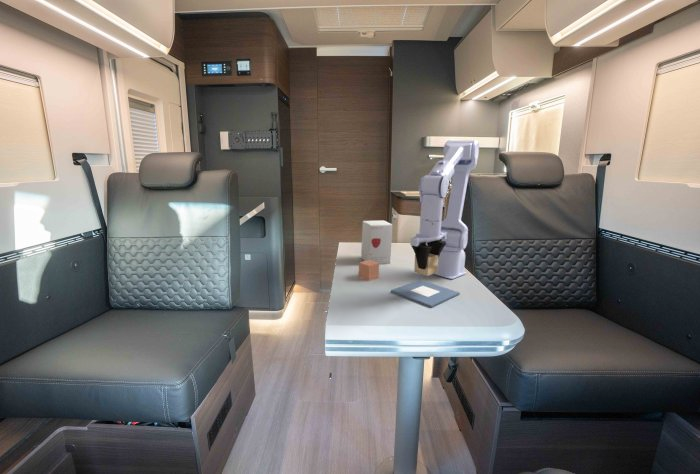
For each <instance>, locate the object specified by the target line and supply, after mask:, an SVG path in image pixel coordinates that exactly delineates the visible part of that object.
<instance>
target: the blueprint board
mask: <svg viewBox="0 0 700 474" xmlns="http://www.w3.org/2000/svg"><path fill="white" fill-rule="evenodd" d="M390 293H392V294H395V295H397V296H399V297H402V298H405V299H408V300H410V301H413V302H416V303H417V304H420V305H422V306H426V307H428V308H431V309H432V308H435V307H437V306H439V305H441V304H443V303H445V302H447V301H449V300H451V299H454V298H455V297H458V296H459V295H460V293H461V292H459V291H457V290H453V289H449V288H447V287H443V286H441V285H437V284H435V283H433V282H428V281H426V280H423V279H417V280H414V281H411V282H410V283H407V284H404V285H402V286H399V287H398V286H397V287H396V288H393V289H391V290H390Z"/></svg>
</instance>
